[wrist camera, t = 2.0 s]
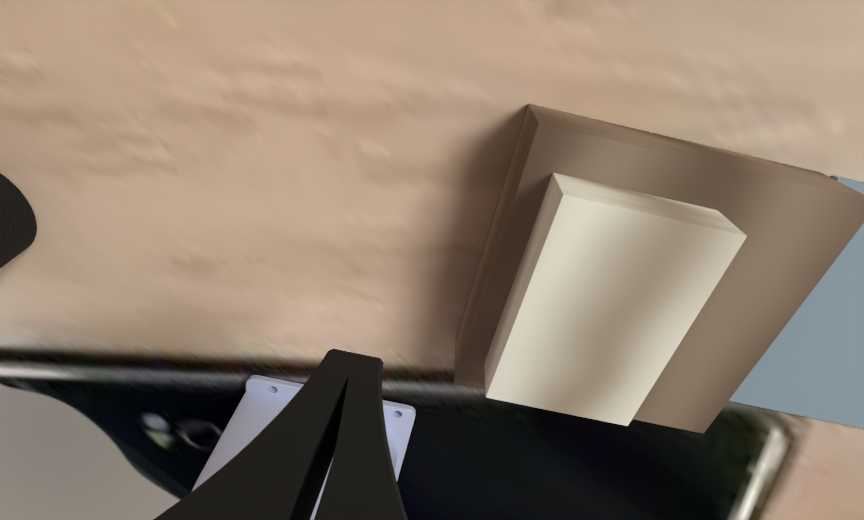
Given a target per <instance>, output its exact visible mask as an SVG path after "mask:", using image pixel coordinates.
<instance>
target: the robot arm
mask: <svg viewBox="0 0 864 520" xmlns="http://www.w3.org/2000/svg"><path fill="white" fill-rule="evenodd" d="M382 368H383V362H382V360H381V359H380V358H376V357H371V356H366V355H361V354H356V353H351V352H346V351H341V350H336V349H332V350H330V351H328V352H327V354H326V356H325V357H324V359H323V360H322V362H321V363H320V365H319V366H318V367H317V369H316V370H315V371H314V373H313V374H312V375H311V377H310V378H309V379H308V380H307V382H306V383H305V384H300V383H295V382H290V381H285V380H280V379H275V378H270V377H265V376H260V375H251V376H250V377H249V378H248V380H247V382H246V392H245V394H244V396H243V398H242V399H241V401H240V403H239V405H238V407H237V408H236V410H235V412H234V414H233V416H232V418H231V419H230V421H229V423H228V425H227V427H226V429H225V430H224V432H223V434H222V436H221V438H220V439H219V441H218V443H217V445H216V447H215V449H214V450H213V452H212V454H211V456H210V458H209V459H208V461H207V463H206V465H205V467H204V469H203V470H202V472H201V474H200V476H199V478H198V480H197V482H196V483H195V485H194V487H193V490H192V492H191V493H190V494H188V495H187V496H186V497H184V498H183V499H182V500H180V501H179V502H178V503H176V504H175V505H174V506H172V507H171V508H169V509H168V510H166V511H165V512H164V513H162V514H161V515H159V516H158V517H157V518H155V519H154V520H408V518H407V515H406V512H405V509H404V506H403V502H402V499H401V495H400V492H399V488H398V485H397V480H398V476H399V473H400V469H401V465H402V462H403V458H404V455H405V451H406V448H407V444H408V441H409V437H410V434H411V430H412V426H413V423H414V419H415V414H416V410H415V409H414V408H413V407H412V406H409V405H405V404H400V403H395V402H390V401H385V400H382ZM272 386H274V387H276V388H274V387H272ZM396 411H399V412H396Z"/></svg>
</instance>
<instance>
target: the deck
mask: <svg viewBox="0 0 864 520" xmlns="http://www.w3.org/2000/svg"><path fill="white" fill-rule="evenodd" d="M553 173H557V174H561V175H566V176H570V177H574V178H579V179H583V180H587V181H592V182H596V183H601V184H605V185H609V186H614V187H618V188H622V189H627V190H631V191H636V192H640V193H644V194H649V195H653V196H657V197H662V198H666V199H671V200H675V201H679V202H684V203H688V204H692V205H697V206H701V207H706V208H710V209H714V210H718V211H719V212H720V213H721V214H722V215H724V216H725V217H726V218H727V219H728V220H729V221H730V222H732V223H733V224H734V225H735V226H736V227H737V228H738V229H740V230H741V231H742V232H743V233H744V234H745V235H746V236H747V237H746V239H745V241H744V242H743V244H742V245H741V247H740V249H739V250H738V252H737V253H736V255H735V256H734V258H733V260H732V261H731V263H730V264H729V266H728V268H727V269H726V271H725V272H724V274H723V276H722V277H721V279H720V280H719V282H718V283H717V285H716V287H715V288H714V290H713V291H712V293H711V295H710V296H709V298H708V299H707V301H706V303H705V304H704V306H703V307H702V309H701V310H700V312H699V314H698V315H697V317H696V318H695V320H694V322H693V323H692V325H691V326H690V328H689V330H688V331H687V333H686V334H685V336H684V337H683V339H682V341H681V342H680V344H679V345H678V347H677V349H676V350H675V352H674V353H673V355H672V357H671V358H670V360H669V361H668V363H667V364H666V366H665V368H664V369H663V371H662V372H661V374H660V376H659V377H658V379H657V380H656V382H655V384H654V385H653V387H652V388H651V390H650V391H649V393H648V395H647V396H646V398H645V399H644V401H643V403H642V404H641V406H640V407H639V409H638V411H637V412H636V414H635V415H634V417H633V418H632V419H635V420H640V421H644V422H649V423H654V424H659V425H664V426H669V427H674V428H679V429H684V430H689V431H694V432H699V433H704V432H705V431H706V430H707V428H708V427H709V426H710V424H711V423H712V422H713V420H714V419H715V418H716V416H717V415H718V414H719V412H720V411H721V410H722V409H723V407H724V406H725V405H726V403H727V402H728V401H729V399H730V398H731V397H732V395H733V394H734V393H735V391H736V390H737V389H738V388H739V386H740V385H741V384H742V382H743V381H744V380H745V378H746V377H747V376H748V374H749V373H750V372H751V370H752V369H753V368H754V366H755V365H756V364H757V363H758V361H759V360H760V359H761V357H762V356H763V355H764V353H765V352H766V351H767V349H768V348H769V347H770V345H771V344H772V343H773V342H774V340H775V339H776V338H777V336H778V335H779V334H780V332H781V331H782V330H783V328H784V327H785V326H786V324H787V323H788V322H789V321H790V319H791V318H792V317H793V315H794V314H795V313H796V311H797V310H798V309H799V307H800V306H801V305H802V303H803V302H804V301H805V300H806V298H807V297H808V296H809V294H810V293H811V292H812V290H813V289H814V288H815V286H816V285H817V284H818V282H819V281H820V280H821V278H822V277H823V276H824V275H825V273H826V272H827V271H828V269H829V268H830V267H831V265H832V264H833V263H834V261H835V260H836V259H837V257H838V256H839V255H840V254H841V252H842V251H843V250H844V248H845V247H846V246H847V244H848V243H849V242H850V240H851V239H852V238H853V236H854V235H855V234H856V233H857V231H858V230H859V229H860V227H861V226H862V225H863V223H864V195H863V194H861V193H860V192H858V191H856V190H854V189H852V188H850V187H848V186H846V185H844V184H842V183H840V182H838V181H836V180H834V179H832V178H830V177H828V176H827V175H825V174H823V173H820V172H816V171H811V170H807V169H803V168H799V167H794V166H790V165H786V164H782V163H777V162H773V161H769V160H765V159H760V158H756V157H752V156H748V155H744V154H739V153H735V152H731V151H727V150H722V149H718V148H714V147H710V146H705V145H701V144H697V143H693V142H688V141H684V140H680V139H676V138H671V137H667V136H663V135H659V134H654V133H650V132H646V131H642V130H637V129H633V128H629V127H625V126H620V125H616V124H612V123H608V122H603V121H599V120H595V119H591V118H587V117H582V116H578V115H574V114H570V113H565V112H561V111H557V110H553V109H548V108H544V107H540V106H536V105H531V104H528V107H527V110H526V113H525V117H524V120H523V123H522V126H521V130H520V133H519V136H518V139H517V143H516V146H515V149H514V152H513V156H512V159H511V162H510V165H509V169H508V172H507V175H506V178H505V181H504V185H503V188H502V191H501V194H500V198H499V201H498V204H497V207H496V211H495V214H494V217H493V220H492V224H491V227H490V230H489V233H488V237H487V240H486V243H485V246H484V250H483V253H482V256H481V259H480V263H479V266H478V269H477V272H476V276H475V279H474V282H473V285H472V289H471V292H470V295H469V298H468V302H467V305H466V308H465V311H464V315H463V318H462V321H461V324H460V327H459V331H458V334H457V337H456V342H455V375H454V383H457V384H462V385H467V386H472V387H477V388H482V389H485V370H484V362H485V360H486V357H487V354H488V351H489V349H490V346H491V343H492V340H493V337H494V335H495V332H496V329H497V326H498V324H499V321H500V318H501V315H502V313H503V310H504V307H505V304H506V301H507V299H508V296H509V293H510V290H511V288H512V285H513V282H514V279H515V276H516V274H517V271H518V268H519V265H520V263H521V260H522V257H523V254H524V252H525V249H526V246H527V243H528V240H529V238H530V235H531V232H532V229H533V227H534V224H535V221H536V218H537V215H538V213H539V210H540V207H541V204H542V202H543V199H544V196H545V193H546V191H547V188H548V185H549V182H550V179H551V177H552V174H553Z"/></svg>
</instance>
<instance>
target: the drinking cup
mask: <svg viewBox="0 0 864 520" xmlns="http://www.w3.org/2000/svg"><path fill="white" fill-rule="evenodd" d="M36 229H37V228H36V219H35V216H34V213H33V210H32V208H31V206H30V205H29V203H28V201H27V200H26V198H25V197H24V195H23V194H22V193H21V192H20V191H19V189H18V188H17V187H16V186H15V185H14V184H13V183H12V182H10V181H9V180H8V179H7V178H6V177H4V176H3V175H2V174H0V268H1V267H2V266H4V265H5V264H6V263H8V262H9V261H10V260H12V259H13V258H14V257H16V256H17V255H18V254H20V253H21V252H22V251H24V250H25V249H26V248H28V247H29V246H30V245H31V244H32V242H33V240H34V238H35V235H36Z"/></svg>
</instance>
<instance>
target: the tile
mask: <svg viewBox="0 0 864 520" xmlns="http://www.w3.org/2000/svg"><path fill="white" fill-rule="evenodd" d="M746 237H747V236H746V235H745V234H744V233H743V232H742V231H741V230H740V229H738V228H737V227H736V226H735V225H734V224H733V223H732V222H730V221H729V220H728V219H727V218H726V217H725V216H724V215H722V214H721V213H720V212H719V211H718V210H714V209H710V208H706V207H701V206H697V205H692V204H688V203H684V202H679V201H675V200H671V199H666V198H662V197H657V196H653V195H649V194H644V193H640V192H636V191H631V190H627V189H622V188H618V187H614V186H609V185H605V184H601V183H596V182H592V181H587V180H583V179H579V178H574V177H570V176H566V175H561V174H557V173H553V174H552V177H551V179H550V182H549V185H548V188H547V191H546V193H545V196H544V199H543V202H542V204H541V207H540V210H539V213H538V215H537V218H536V221H535V224H534V227H533V229H532V232H531V235H530V238H529V240H528V243H527V246H526V249H525V252H524V254H523V257H522V260H521V263H520V265H519V268H518V271H517V274H516V276H515V279H514V282H513V285H512V288H511V290H510V293H509V296H508V299H507V301H506V304H505V307H504V310H503V313H502V315H501V318H500V321H499V324H498V326H497V329H496V332H495V335H494V337H493V340H492V343H491V346H490V349H489V351H488V354H487V357H486V360H485V362H484V370H485V390H486V398H491V399H496V400H501V401H506V402H511V403H516V404H521V405H526V406H531V407H536V408H541V409H546V410H551V411H555V412H560V413H565V414H570V415H575V416H580V417H585V418H590V419H595V420H600V421H605V422H610V423H615V424H620V425H625V426H628V425H629V423H630V422H631V420H632V418H633V417H634V415H635V414H636V412H637V411H638V409H639V407H640V406H641V404H642V403H643V401H644V399H645V398H646V396H647V395H648V393H649V391H650V390H651V388H652V387H653V385H654V384H655V382H656V380H657V379H658V377H659V376H660V374H661V372H662V371H663V369H664V368H665V366H666V364H667V363H668V361H669V360H670V358H671V357H672V355H673V353H674V352H675V350H676V349H677V347H678V345H679V344H680V342H681V341H682V339H683V337H684V336H685V334H686V333H687V331H688V330H689V328H690V326H691V325H692V323H693V322H694V320H695V318H696V317H697V315H698V314H699V312H700V310H701V309H702V307H703V306H704V304H705V303H706V301H707V299H708V298H709V296H710V295H711V293H712V291H713V290H714V288H715V287H716V285H717V283H718V282H719V280H720V279H721V277H722V276H723V274H724V272H725V271H726V269H727V268H728V266H729V264H730V263H731V261H732V260H733V258H734V256H735V255H736V253H737V252H738V250H739V249H740V247H741V245H742V244H743V242H744V241H745V239H746Z"/></svg>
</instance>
